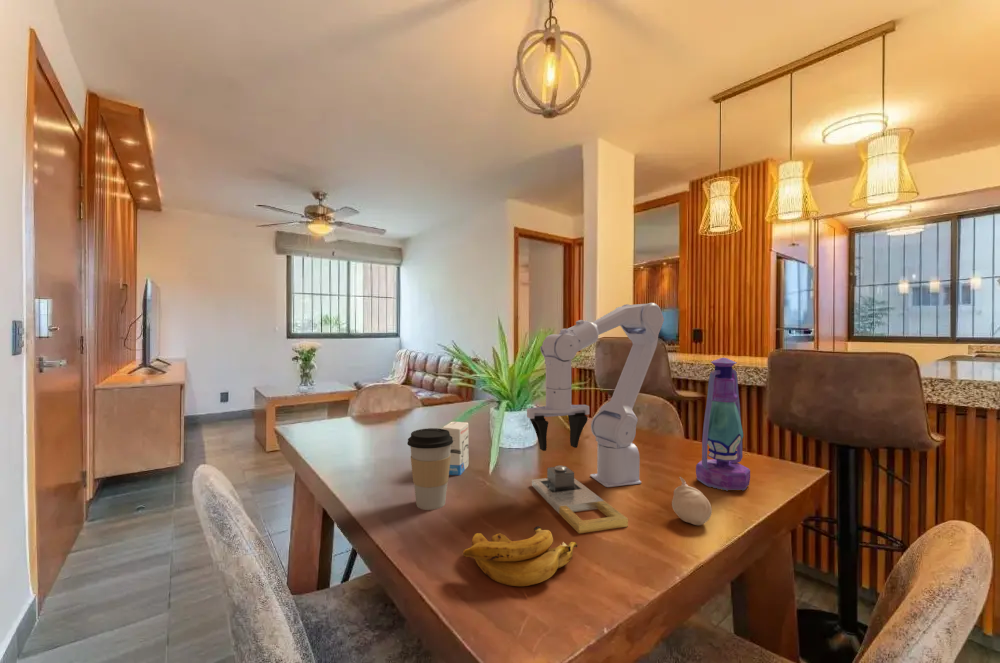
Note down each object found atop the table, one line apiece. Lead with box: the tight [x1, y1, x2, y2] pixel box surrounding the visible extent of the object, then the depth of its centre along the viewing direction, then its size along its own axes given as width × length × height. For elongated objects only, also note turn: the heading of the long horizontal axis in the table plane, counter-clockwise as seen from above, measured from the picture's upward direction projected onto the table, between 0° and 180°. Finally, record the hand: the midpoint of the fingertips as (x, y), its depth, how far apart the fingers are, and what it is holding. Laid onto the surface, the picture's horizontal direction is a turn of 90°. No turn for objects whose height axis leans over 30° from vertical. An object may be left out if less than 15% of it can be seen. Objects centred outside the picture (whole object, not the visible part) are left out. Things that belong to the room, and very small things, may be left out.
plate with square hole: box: [531, 477, 629, 535], centre depth 90 cm, size 10×24×2 cm, turn 16°
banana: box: [462, 526, 578, 587], centre depth 68 cm, size 15×19×6 cm
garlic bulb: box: [671, 475, 713, 526], centre depth 82 cm, size 7×6×8 cm
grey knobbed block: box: [546, 465, 575, 492], centre depth 97 cm, size 4×4×6 cm
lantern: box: [695, 357, 751, 492], centre depth 102 cm, size 13×12×30 cm
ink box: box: [442, 421, 470, 476], centre depth 111 cm, size 9×5×12 cm, turn 168°
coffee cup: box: [407, 427, 453, 511], centre depth 89 cm, size 9×9×15 cm
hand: (558, 448), depth 97 cm, fingers open, 7 cm apart
